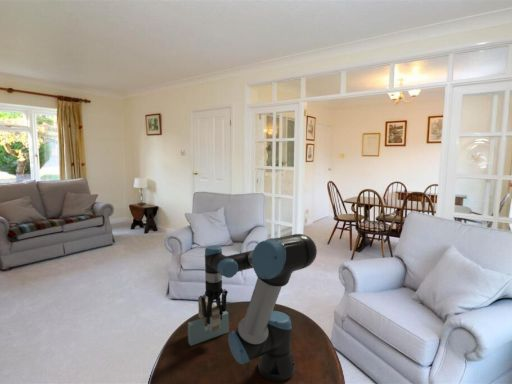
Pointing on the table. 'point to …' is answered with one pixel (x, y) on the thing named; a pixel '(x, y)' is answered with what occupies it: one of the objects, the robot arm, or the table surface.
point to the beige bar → (214, 315)
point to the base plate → (206, 330)
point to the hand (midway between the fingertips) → (214, 327)
